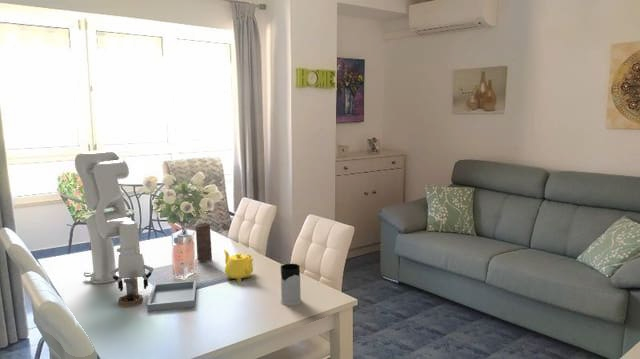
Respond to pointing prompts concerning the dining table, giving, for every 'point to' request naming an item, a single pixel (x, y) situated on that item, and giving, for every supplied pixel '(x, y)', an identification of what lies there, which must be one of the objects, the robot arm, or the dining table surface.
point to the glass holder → (290, 285)
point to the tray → (172, 296)
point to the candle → (203, 242)
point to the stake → (129, 288)
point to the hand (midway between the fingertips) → (133, 289)
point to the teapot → (238, 266)
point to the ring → (135, 296)
